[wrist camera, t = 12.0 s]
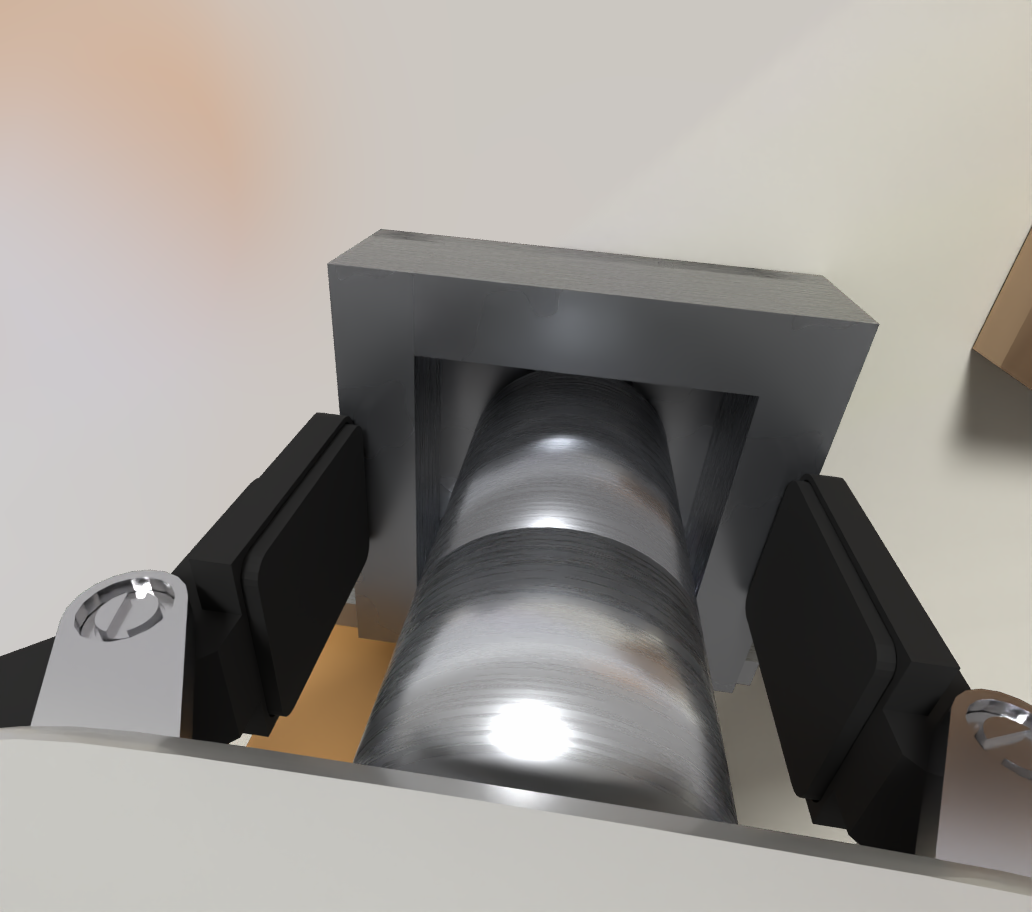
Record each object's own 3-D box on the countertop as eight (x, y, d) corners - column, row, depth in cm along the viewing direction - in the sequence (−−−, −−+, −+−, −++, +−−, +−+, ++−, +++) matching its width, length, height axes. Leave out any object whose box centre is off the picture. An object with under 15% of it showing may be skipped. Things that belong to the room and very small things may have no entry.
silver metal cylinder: (687, 379, 12) (812, 803, 5) (647, 544, 14) (694, 1003, 7) (477, 355, 12) (306, 723, 5) (469, 521, 14) (342, 941, 7)
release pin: (467, 625, 16) (390, 932, 10) (462, 719, 19) (397, 1019, 13) (322, 605, 17) (167, 892, 11) (334, 699, 19) (209, 984, 13)
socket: (822, 275, 11) (879, 324, 9) (713, 603, 15) (732, 692, 13) (381, 229, 11) (327, 263, 9) (393, 559, 16) (358, 637, 13)
